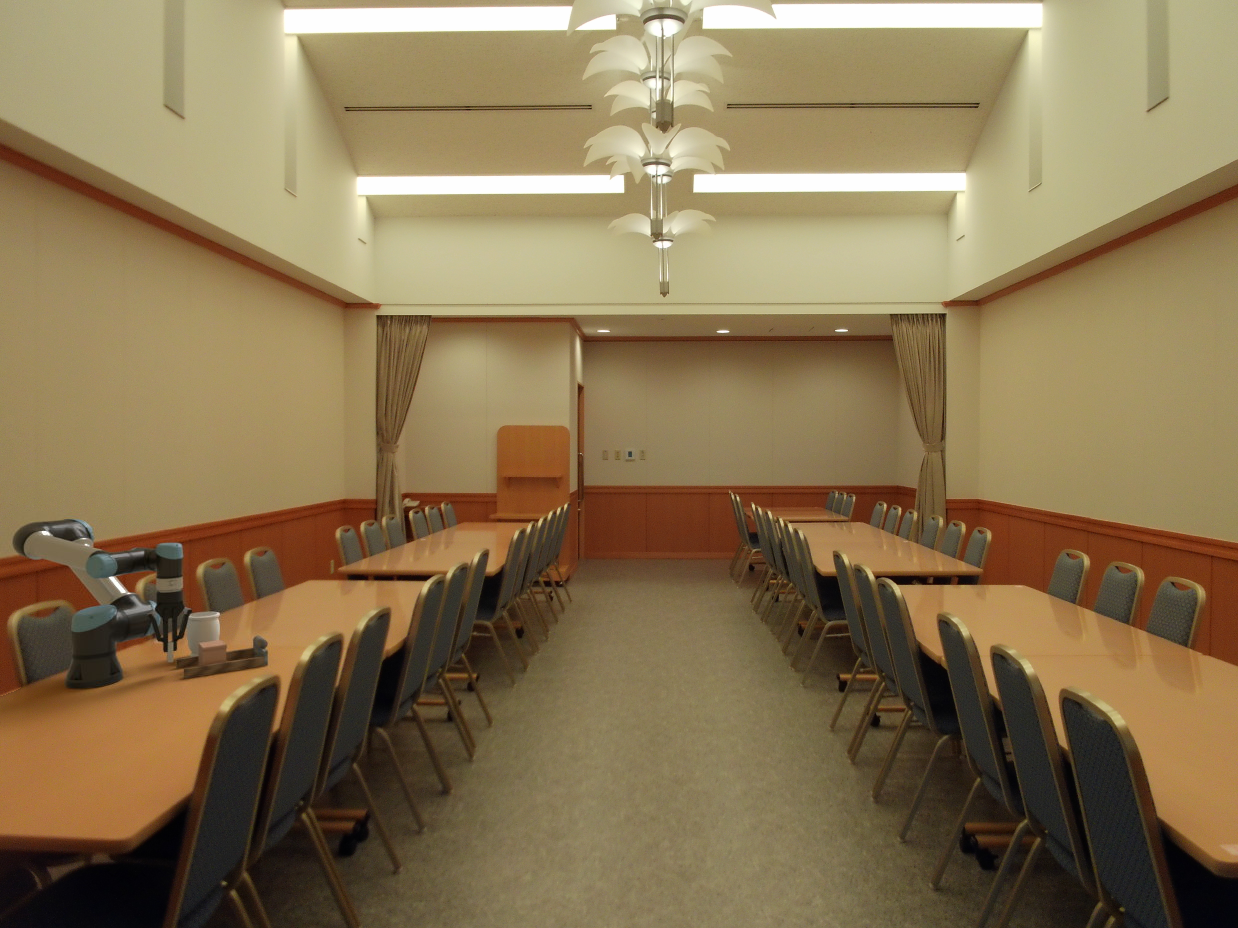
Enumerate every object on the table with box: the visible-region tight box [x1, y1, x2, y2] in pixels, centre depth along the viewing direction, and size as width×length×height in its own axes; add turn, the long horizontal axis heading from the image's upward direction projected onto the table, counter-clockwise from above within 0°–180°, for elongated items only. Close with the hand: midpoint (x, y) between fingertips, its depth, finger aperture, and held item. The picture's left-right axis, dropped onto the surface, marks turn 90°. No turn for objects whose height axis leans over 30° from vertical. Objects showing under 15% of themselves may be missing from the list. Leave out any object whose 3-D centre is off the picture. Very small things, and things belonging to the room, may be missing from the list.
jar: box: [185, 611, 221, 657], centre depth 268 cm, size 11×10×15 cm
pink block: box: [198, 639, 228, 666], centre depth 253 cm, size 7×8×8 cm
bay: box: [176, 635, 269, 679], centre depth 255 cm, size 26×16×8 cm, turn 129°
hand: (170, 661), depth 245 cm, fingers closed
